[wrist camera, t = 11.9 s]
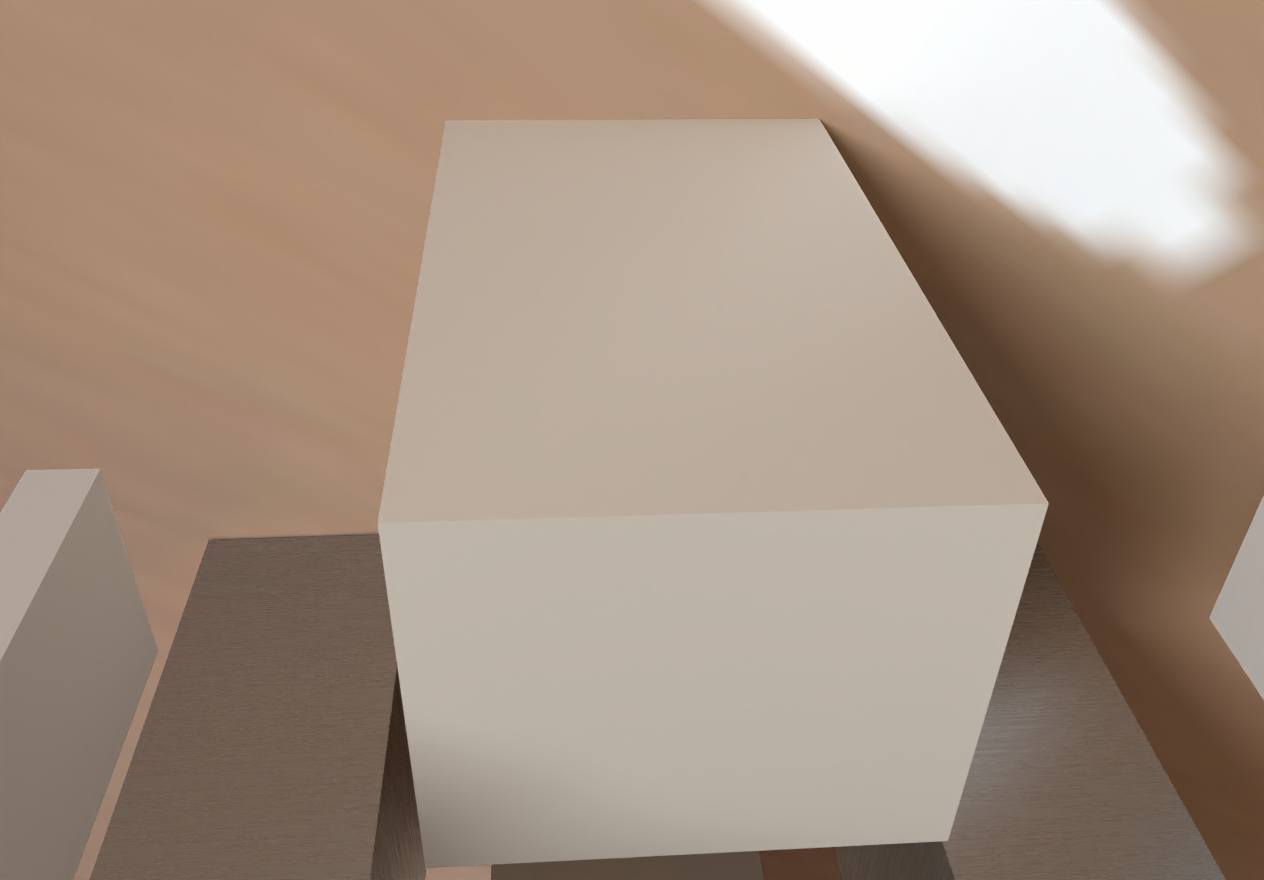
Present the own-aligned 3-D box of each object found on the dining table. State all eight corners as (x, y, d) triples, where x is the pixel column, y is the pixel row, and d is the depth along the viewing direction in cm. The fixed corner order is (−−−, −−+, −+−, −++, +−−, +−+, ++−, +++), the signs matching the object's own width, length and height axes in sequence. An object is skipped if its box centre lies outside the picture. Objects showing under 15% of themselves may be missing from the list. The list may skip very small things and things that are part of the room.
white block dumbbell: (503, 895, 30) (494, 1362, 22) (445, 120, 18) (377, 524, 10) (727, 883, 31) (799, 1336, 22) (819, 118, 18) (1049, 504, 10)
